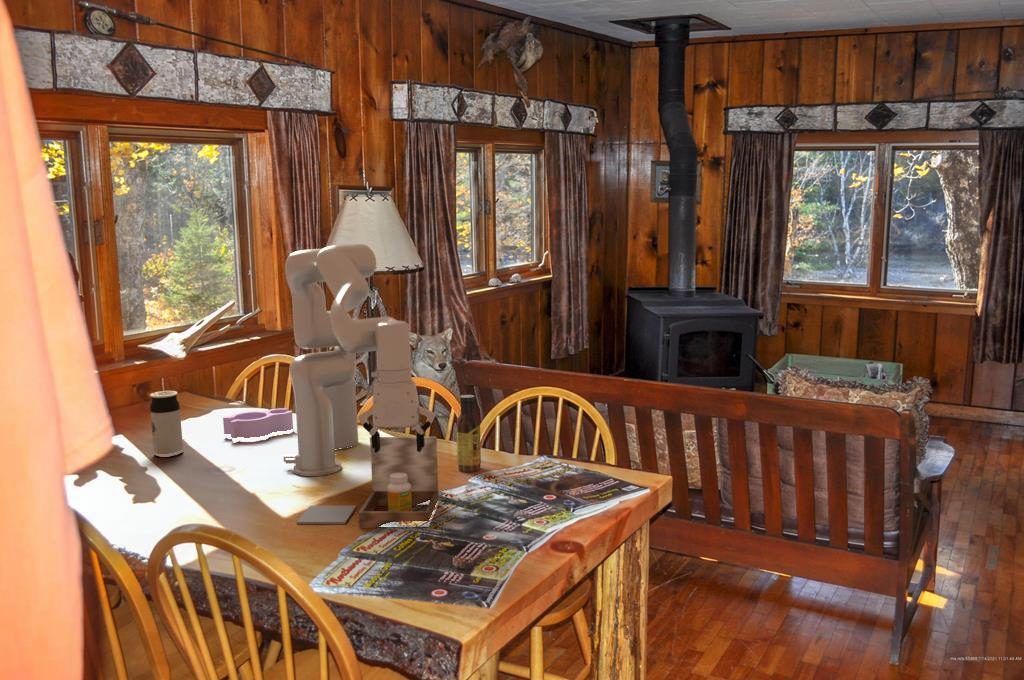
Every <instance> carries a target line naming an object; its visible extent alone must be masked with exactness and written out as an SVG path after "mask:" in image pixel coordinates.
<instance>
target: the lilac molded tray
mask: <svg viewBox="0 0 1024 680" xmlns="http://www.w3.org/2000/svg"><path fill="white" fill-rule="evenodd" d="M293 417H294V416H293V410H288V407H287V408H284V407H283V408H281V407H280V408H272V409H268V410H257V411H255V410H254V411H253V410H252V411H243V412H238V413H234V414H232V415H230V416H224V417H222V420H223V422H222V423H223V435H224V434H231V437H232V438H237V437H244V438H250V437H260V436H265V435H268V434H270V433H272V432H277V431H287V430H291V429H293V430H294V422H293V421H294V420H293Z"/></svg>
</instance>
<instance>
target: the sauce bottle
mask: <svg viewBox="0 0 1024 680" xmlns="http://www.w3.org/2000/svg"><path fill="white" fill-rule="evenodd" d="M459 402H460V414H459V416H458V417H457V420H456V454H457V455H456V457H457V458H456V461H457V469H458V471H460V472H465V473H466V472H467V473H471V472H477V471H479V470H480V469H481V464H482V460H481V459H482V458H481V457H482V455H481V449H482V447H481V424H480V422H479V419H478V416H477V414H476V408H475V406H476V404H475V402H476V395H473V394H461V395H459Z"/></svg>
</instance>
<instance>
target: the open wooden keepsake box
mask: <svg viewBox="0 0 1024 680" xmlns="http://www.w3.org/2000/svg"><path fill="white" fill-rule="evenodd" d="M369 443H370V444H369V445H370V447H369V449H370V465H371V466H370V471H371V486H372V487H371V488H372V489H371V490H372V491H371V493H370V494H369V496H368V498H367V499H366V501H365V502H364V503H363V505H362V507H361V508H360V509H359V511H358V528H359V529H361V528H362V529H364V528H365V529H371V528H372V529H375V527H379V526H381V525H383V524H386V523H390V522H401V521H429V519H430V517H431V515H432V512H433V510H434V508H435V505H436V503H437V501H438V498H439V499H440V495H439V494H440V493H439V468H438V444H437V443H438V441H437V436H424V443H425V446H424V447H422V450H421V452H418V451H417V441H416V436H380V450H379V452H377V453H375V450H374V448H372V437H371V436H370V437H369ZM399 472H401V473H406V474H407V476H408V481H407V482H408V483H410V485H411V496H412V507H413V506H414V505H417V504H420V503H423V502H426V501H428V500H430V503H429V505H428V506H426V509H425V510H420V511H419V510H418V511H416V510H415V511H413V510H412V511H388V510H387V511H386V510H383V511H378V510H377V511H376V510H375V509H376V507H377V506H386V507H387V506H388V491H387V488H388V485H389V484H390V483H391V482H390V475H391V474H393V473H399ZM374 510H375V511H374Z"/></svg>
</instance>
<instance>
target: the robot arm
mask: <svg viewBox="0 0 1024 680" xmlns="http://www.w3.org/2000/svg"><path fill="white" fill-rule="evenodd" d="M284 264H285V265H284V272H285V278H286V282H287V285H288V288H289V292H290V293H291V294H290V295H291V300H292V323H293V324H292V326H293V336H294V342H295V344H296V345H297V347H299V349H303V350H314V349H323V348H331V347H333V349H334V350H329V351H319V352H312V353H305V354H301V355H299V356H297V357H295V358H293V359H292V361H291V362H290V365H289V376H290V380H291V381H290V382H291V383H292V388H293V394H294V395H293V396H294V403H295V418H296V435H297V449H298V450H297V451H298V453H295V454H284V455H283V462H284V463H285V464H294V465H293V473H294V472H295V474H296V475H298V474H299V475H298V476H302V475H303V476H304V477H321V476H326V475H327V474H328V475H331V473H332V474H334V472H335V473H337V472H339V471H340V470H341V469H342V463H341V462H340V461H339V460H336V452H335V451H336V450H335V447H334V429H333V412H332V404H331V401H330V400H329V398H328V397H327V396H326V395H325V394H324V393H323V391H322V389H324V388H327V387H334V386H341V385H346V384H349V383H351V382H352V381H353V380H354V378H355V379H356V375H357V354H360V353H367V352H375V351H376V352H375V354H376V366H377V367H376V368H377V369H376V370H375V371H371V373H370V377H371V378H375V379H376V382H375V383H374V384H373V391H372V395H373V396H372V407H371V408H370V409H367V410H366V411H364V412H362V413H360V414H359V415H357V419H358V420H359V422H360V423H361V425H362V428H364V430H365V431H367V433H369V435H370V437H372V448H374V450H375V453H377V452H379V450H380V437H381V435H380V432H379V429H400V428H401V429H402V428H403V429H405V428H407V429H408V428H413V429H414V431H416V432H417V433H416V435H415V437H416V441H417V451H418V452H421V450H422V447H424V446H425V443H424V437H425V432H426V431H427V430H428V429H429V428H430V427H431V425H432V423H433V421H434V419H435V417H436V413H435V412H433V411H431V410H429V409H427V408H425V407H422V406H420V403H419V396H418V395H419V393H418V390H417V386H416V381H415V380H413V377H412V360H411V343H410V342H411V341H410V338H411V337H410V327H409V324H408V322H406V321H404V320H397V319H395V318H394V317H391V316H382V317H381V316H380V317H379V316H378V317H371V318H370V317H368V318H360V319H353V318H352V316H351V315H350V314H349V313H348V312H350V311H352V310H353V309H355V308H357V307H358V306H360V305H361V304H363V303H364V302H365V300H366V299H367V298H368V296H369V294H370V286H369V284H368V281H367V280H366V279H367V278H369V277H372V276H373V275H374V273H375V272H376V270H377V258H376V255H375V253H374V251H373V250H372V248H370V247H369V246H368V245H367V244H363V243H351V244H348V243H347V244H334V245H329V246H328V245H327V246H326V247H323V248H312V249H311V248H307V249H303V250H302V249H301V250H300V249H299V250H296V251H294V252H292V253H289V255H288V256H287V258H286V260H285V263H284ZM319 283H325V284H326V285H327V287H328V289H329V290H330V292H331V294H332V296H333V298H334V299H333V301H332V304H331V307H330V310H327V306H326V301H327V300H326V299H327V298H326V295H325V291H324V290H323V288H322V287H321V285H320V284H319ZM421 415H422V416H424V417H426V418H427V419H426V421H425V423H423V424H422V422H421V421H420V419H421ZM371 416H372V423H373V425H372V424H371V423H370V422H369V421H368V419H367V418H368V417H371ZM338 470H339V471H338ZM336 471H337V472H336ZM328 475H327V476H328Z"/></svg>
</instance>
